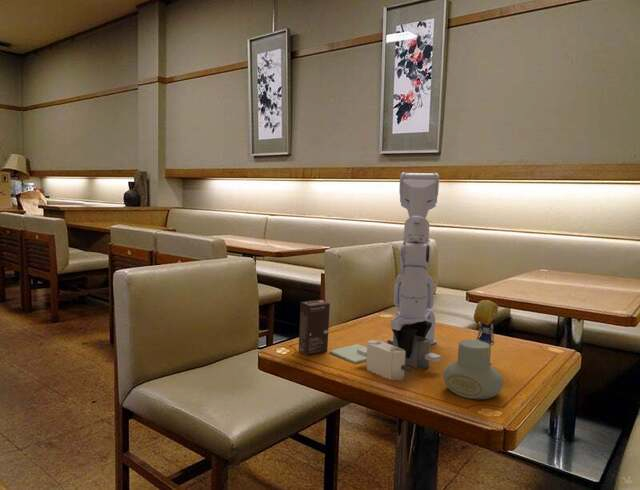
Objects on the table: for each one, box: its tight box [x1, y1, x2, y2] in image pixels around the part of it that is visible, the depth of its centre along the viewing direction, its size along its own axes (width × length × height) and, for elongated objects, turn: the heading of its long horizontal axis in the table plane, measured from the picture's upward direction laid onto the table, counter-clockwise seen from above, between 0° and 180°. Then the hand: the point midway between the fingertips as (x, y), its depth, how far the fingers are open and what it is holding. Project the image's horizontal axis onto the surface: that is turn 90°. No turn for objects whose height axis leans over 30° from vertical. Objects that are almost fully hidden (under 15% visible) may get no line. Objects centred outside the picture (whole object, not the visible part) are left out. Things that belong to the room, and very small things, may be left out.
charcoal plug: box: [386, 333, 442, 370], centre depth 109 cm, size 14×4×6 cm, turn 39°
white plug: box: [357, 339, 413, 382], centre depth 102 cm, size 14×4×6 cm, turn 39°
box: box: [298, 299, 331, 356], centre depth 115 cm, size 6×4×12 cm
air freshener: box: [442, 339, 504, 401], centre depth 92 cm, size 11×8×10 cm
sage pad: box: [329, 343, 367, 365], centre depth 114 cm, size 9×9×1 cm
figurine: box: [473, 299, 499, 366], centre depth 108 cm, size 5×5×15 cm
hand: (410, 354), depth 109 cm, fingers closed on charcoal plug, 4 cm apart
